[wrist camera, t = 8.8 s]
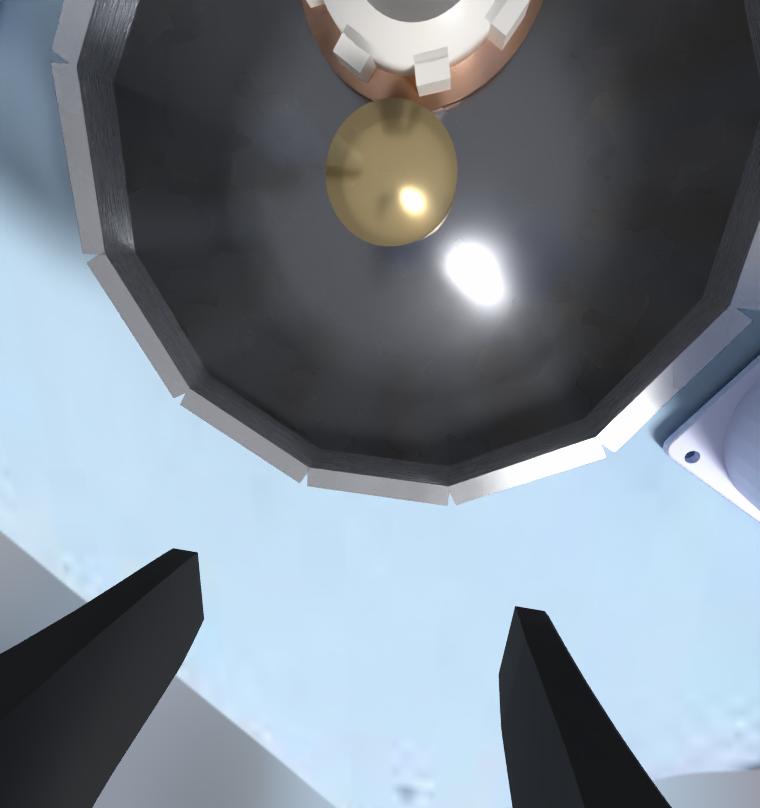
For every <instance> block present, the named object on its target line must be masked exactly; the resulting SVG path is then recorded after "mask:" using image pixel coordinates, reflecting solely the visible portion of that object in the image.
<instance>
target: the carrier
mask: <svg viewBox="0 0 760 808" xmlns="http://www.w3.org/2000/svg"><path fill="white" fill-rule="evenodd" d="M340 36H341V32H340V31H339V29H338V27H337V26H336V24H335V22H334V20H333V18H332V17H331V15H330V13H329V11H328V9H327V7H326V5H325V4H322V5H319V6H315V7H312V8H311V7H310V6H309V4H308V3H307V1H306V0H64V3H63V7H62V11H61V14H60V18H59V22H58V26H57V30H56V33H55V37H54V41H53V45H52V49H51V50H52V51H53V52H54V53H56V54H57V55H59V56H60V57H61V58H63V59H64V60H66V61H67V62H68V63H51V68H52V73H53V79H54V85H55V91H56V97H57V103H58V109H59V115H60V121H61V127H62V133H63V139H64V144H65V150H66V156H67V162H68V168H69V174H70V180H71V186H72V192H73V198H74V204H75V210H76V215H77V221H78V227H79V233H80V239H81V245H82V251H83V253H86V254H98V256H97V257H95V258H93V259H92V260H90V261H89V262H87V264H88V266H89V267H90V269H91V270H92V272H93V273H94V275H95V277H96V278H97V280H98V281H99V283H100V284H101V286H102V287H103V289H104V291H105V292H106V294H107V295H108V297H109V298H110V300H111V301H112V303H113V305H114V306H115V308H116V309H117V311H118V312H119V314H120V315H121V317H122V319H123V320H124V322H125V323H126V325H127V326H128V328H129V329H130V331H131V333H132V334H133V336H134V337H135V339H136V340H137V342H138V343H139V345H140V347H141V348H142V350H143V351H144V353H145V354H146V356H147V357H148V359H149V361H150V362H151V364H152V365H153V367H154V368H155V370H156V371H157V373H158V375H159V376H160V378H161V379H162V381H163V382H164V384H165V385H166V387H167V388H168V390H169V392H170V393H171V395H172V396H173V398H175V397H178V396H180V395H182V394H184V393H186V394H185V396H184V398H183V400H182V402H181V404H180V405H181V406H183V407H184V408H186V409H188V410H189V411H191V412H192V413H194V414H195V415H197V416H198V417H200V418H201V419H203V420H204V421H206V422H207V423H209V424H210V425H212V426H213V427H215V428H216V429H218V430H220V431H221V432H223V433H224V434H226V435H227V436H229V437H230V438H232V439H233V440H235V441H236V442H238V443H239V444H241V445H242V446H244V447H245V448H247V449H248V450H250V451H252V452H253V453H255V454H256V455H258V456H259V457H261V458H262V459H264V460H265V461H267V462H268V463H270V464H271V465H273V466H274V467H276V468H277V469H279V470H280V471H282V472H283V473H285V474H287V475H288V476H290V477H291V478H293V479H294V480H296V481H297V482H299V483H300V482H301V481H302V479H303V478H304V476H305V475H306V474H307V472H308V481H307V486H310V487H317V488H324V489H332V490H339V491H346V492H353V493H360V494H367V495H374V496H381V497H388V498H395V499H402V500H409V501H417V502H424V503H431V504H438V505H445V506H447V505H448V498H449V492H450V494H451V496H452V498H453V500H454V502H455V504H456V505H458V504H461V503H464V502H467V501H471V500H474V499H477V498H480V497H483V496H486V495H489V494H492V493H495V492H499V491H502V490H505V489H508V488H511V487H514V486H517V485H520V484H524V483H527V482H530V481H533V480H536V479H539V478H542V477H545V476H548V475H552V474H555V473H558V472H561V471H564V470H567V469H570V468H573V467H577V466H580V465H583V464H586V463H589V462H592V461H595V460H598V459H602V458H605V455H604V452H603V449H602V446H601V444H600V442H601V443H602V444H604V445H605V446H606V447H608V448H609V449H611V450H612V451H613V452H615V451H616V450H617V449H618V448H619V447H620V446H621V445H622V444H623V443H624V442H625V441H627V440H628V439H629V438H630V437H631V436H632V435H633V434H634V433H635V432H636V431H637V430H638V429H639V428H640V427H641V426H642V425H643V424H645V423H646V422H647V421H648V420H649V419H650V418H651V417H652V416H653V415H654V414H655V413H656V412H657V411H658V410H659V409H660V408H661V407H663V406H664V405H665V404H666V403H667V402H668V401H669V400H670V399H671V398H672V397H673V396H674V395H675V394H676V393H677V392H678V391H679V390H681V389H682V388H683V387H684V386H685V385H686V384H687V383H688V382H689V381H690V380H691V379H692V378H693V377H694V376H695V375H696V374H697V373H699V372H700V371H701V370H702V369H703V368H704V367H705V366H706V365H707V364H708V363H709V362H710V361H711V360H712V359H713V358H714V357H715V356H717V355H718V354H719V353H720V352H721V351H722V350H723V349H724V348H725V347H726V346H727V345H728V344H729V343H730V342H731V341H732V340H733V339H735V338H736V337H737V336H738V335H739V334H740V333H741V332H742V331H743V330H744V329H745V328H746V327H747V326H748V325H749V324H750V323H751V322H753V320H751V319H750V318H749V317H748V316H746V315H745V314H744V313H742V312H741V311H740V310H739V309H750V310H760V0H530V2H529V5H528V8H527V11H526V14H525V17H524V18H523V20H522V21H521V23H520V24H519V26H518V27H517V29H516V30H515V32H514V33H513V35H512V36H511V38H510V39H509V41H508V42H507V44H506V45H505V47H504V48H503V50H502V51H501V50H500V49H499V48H498V47H497V46H496V45H494V44H493V43H492V42H491V41H490V40H489V39H487V40H486V41H485V43H484V44H483V45H482V46H481V47H480V48H479V49H478V50H476V51H475V52H474V53H473V54H472V55H471V56H469V57H468V58H467V59H465V60H464V61H462V62H461V63H459V64H458V65H456V66H453V67H451V68H450V78H451V89H450V90H445V91H441V92H437V93H433V94H428V95H424V96H420V97H419V94H418V90H417V85H416V77H406V76H400V75H395V74H391V73H388V72H385V71H383V70H381V69H379V68H377V67H376V69H375V70H374V72H373V74H372V76H371V77H370V79H369V81H368V83H367V84H365V83H364V82H363V81H362V80H361V79H359V78H358V77H357V76H356V75H354V74H353V73H352V72H351V71H349V70H348V69H347V68H346V67H344V66H343V65H342V64H341V63H340V61H339V60H338V58H337V57H336V55H335V54H334V52H333V50H334V48H335V46H336V44H337V42H338V40H339V38H340ZM737 308H738V309H737Z"/></svg>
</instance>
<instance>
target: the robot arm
mask: <svg viewBox="0 0 760 808" xmlns="http://www.w3.org/2000/svg"><path fill="white" fill-rule="evenodd" d="M663 449H664V452H665V453H666V454H667V455H668V456H669V457H670V458H671V459H672V460H673V461H675V462H676V463H678V464H679V465H680V466H682V467H683V468H685V469H686V470H687V471H689V472H690V473H691V474H693V475H694V476H696V477H697V478H698V479H700V480H701V481H703V482H704V483H705V484H707V485H708V486H709V487H711V488H712V489H714V490H715V491H716V492H718V493H719V494H721V495H722V496H723V497H725V498H726V499H727V500H729V501H730V502H732V503H733V504H734V505H736V506H737V507H739V508H740V509H741V510H743V511H744V512H745V513H747V514H748V515H750V516H751V517H752V518H754V519H755V520H757V521H758V522H759V523H760V355H759V356H758V357H756V358H755V359H754V360H753V361H752V362H751V363H750V364H749V365H748V366H747V367H745V368H744V369H743V370H742V371H741V372H740V373H739V374H738V375H737V376H736V377H734V378H733V379H732V380H731V381H730V382H729V383H728V384H727V385H726V386H724V387H723V388H722V389H721V390H720V391H719V392H718V393H717V394H716V395H715V396H713V397H712V398H711V399H710V400H709V401H708V402H707V403H706V404H705V405H704V406H702V407H701V408H700V409H699V410H698V411H697V412H696V413H695V414H694V415H692V416H691V417H690V418H689V419H688V420H687V421H686V422H685V423H684V424H683V425H681V426H680V427H679V428H678V429H677V430H676V431H675V432H674V433H673V434H671V435H670V436H669V437H668V438H667V439H666V441H665V442H664V445H663ZM690 451H695V454H694V455H693V456H692V457H690V458H686V459H685V455H686V454H687V453H688V452H690ZM203 620H204V614H203V604H202V593H201V583H200V572H199V562H198V553H197V552H192V551H186V550H180V549H174V548H173V549H171V550H170V551H168V552H166V553H165V554H163V555H161V556H160V557H158V558H157V559H155V560H154V561H152V562H150V563H149V564H147V565H146V566H144V567H143V568H141V569H140V570H138V571H136V572H135V573H133V574H132V575H130V576H129V577H127V578H126V579H124V580H123V581H121V582H119V583H118V584H116V585H115V586H113V587H112V588H110V589H108V590H107V591H105V592H104V593H102V594H101V595H99V596H97V597H96V598H94V599H93V600H91V601H89V602H88V603H86V604H85V605H83V606H82V607H80V608H78V609H77V610H75V611H74V612H72V613H70V614H68V615H67V616H65V617H63V618H62V619H60V620H58V621H57V622H55V623H53V624H51V625H50V626H48V627H47V628H45V629H43V630H41V631H40V632H38V633H36V634H35V635H33V636H31V637H29V638H28V639H26V640H24V641H22V642H21V643H19V644H18V645H16V646H14V647H12V648H10V649H9V650H7V651H5V652H3V653H1V654H0V808H92V807H93V806H94V804H95V802H96V800H97V798H98V797H99V795H100V793H101V791H102V790H103V788H104V787H105V785H106V783H107V782H108V780H109V778H110V776H111V775H112V773H113V772H114V770H115V769H116V767H117V765H118V764H119V762H120V761H121V759H122V757H123V756H124V754H125V753H126V751H127V750H128V748H129V747H130V745H131V744H132V742H133V741H134V739H135V737H136V736H137V734H138V733H139V731H140V730H141V728H142V726H143V725H144V723H145V722H146V720H147V719H148V717H149V715H150V714H151V712H152V711H153V709H154V708H155V706H156V705H157V703H158V701H159V700H160V698H161V697H162V695H163V694H164V692H165V690H166V689H167V687H168V686H169V684H170V682H171V681H172V679H173V678H174V676H175V675H176V673H177V671H178V670H179V668H180V667H181V665H182V663H183V661H184V659H185V657H186V655H187V653H188V651H189V649H190V647H191V645H192V643H193V641H194V639H195V637H196V635H197V633H198V631H199V629H200V627H201V625H202V622H203ZM499 692H500V714H501V730H502V737H503V744H504V751H505V758H506V765H507V772H508V779H509V786H510V793H511V800H512V806H513V808H672V807H671V806H670V805H669V804H668V802H667V801H666V799H665V798H664V797H663V795H662V794H661V793H660V791H659V790H658V788H657V787H656V786H655V784H654V783H653V781H652V780H651V779H650V777H649V776H648V774H647V773H646V771H645V770H644V769H643V767H642V766H641V764H640V763H639V761H638V760H637V759H636V757H635V756H634V754H633V753H632V751H631V750H630V748H629V747H628V746H627V744H626V743H625V741H624V740H623V738H622V737H621V735H620V734H619V732H618V731H617V729H616V728H615V726H614V724H613V723H612V721H611V720H610V718H609V717H608V715H607V714H606V712H605V710H604V709H603V707H602V706H601V704H600V703H599V701H598V699H597V698H596V696H595V695H594V693H593V692H592V690H591V688H590V687H589V685H588V683H587V682H586V680H585V679H584V677H583V675H582V674H581V672H580V670H579V669H578V667H577V665H576V663H575V662H574V660H573V658H572V657H571V655H570V653H569V652H568V650H567V648H566V646H565V645H564V643H563V641H562V639H561V638H560V636H559V634H558V632H557V630H556V629H555V627H554V625H553V623H552V621H551V620H550V618H549V616H548V615H547V614H546V612H545V611H540V610H535V609H529V608H523V607H517V606H515V609H514V613H513V618H512V622H511V626H510V630H509V634H508V638H507V642H506V646H505V651H504V655H503V659H502V663H501V667H500V671H499Z"/></svg>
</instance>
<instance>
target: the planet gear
mask: <svg viewBox="0 0 760 808" xmlns="http://www.w3.org/2000/svg"><path fill="white" fill-rule="evenodd" d="M306 1H307V3H308V4H309V6H310V7H311V8H312V7H315V6H319V5H322V4H325V5H326V7H327V9H328V11H329V13H330V15H331V17H332V18H333V20H334V22H335V24H336V26H337V27H338V29H339V31H340V32H341V36H340V38H339V40H338V42H337V44H336V46H335V48H334V50H333V52H334V54H335V55H336V57H337V58H338V60H339V61H340V63H341V64H342V65H343V66H344V67H346V68H347V69H348V70H349V71H351V72H352V73H353V74H354V75H356V76H357V77H358V78H359V79H361V80H362V81H363V82H364V83H365V84H367V83H368V81H369V79H370V77H371V76H372V74H373V72H374V70H375V69H376V67H377V68H379V69H381V70H383V71H385V72H388V73H391V74H395V75H400V76H406V77H416V85H417V90H418V94H419V97H420V96H424V95H428V94H433V93H437V92H441V91H445V90H450V89H451V78H450V68H451V67H453V66H456V65H458V64H459V63H461V62H462V61H464V60H465V59H467V58H468V57H469V56H471V55H472V54H473V53H474V52H475V51H476V50H478V49H479V48H480V47H481V46H482V45H483V44H484V43H485V41H486V40H487V39H489V40H490V41H491V42H492V43H493V44H494V45H496V46H497V47H498V48H499V49H500V50H501V51H502V50H503V48H504V47H505V45H506V44H507V42H508V41H509V39H510V38H511V36H512V35H513V33H514V32H515V30H516V29H517V27H518V26H519V24H520V23H521V21H522V20H523V18H524V17H525V14H526V11H527V8H528V5H529V2H530V0H306Z"/></svg>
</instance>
